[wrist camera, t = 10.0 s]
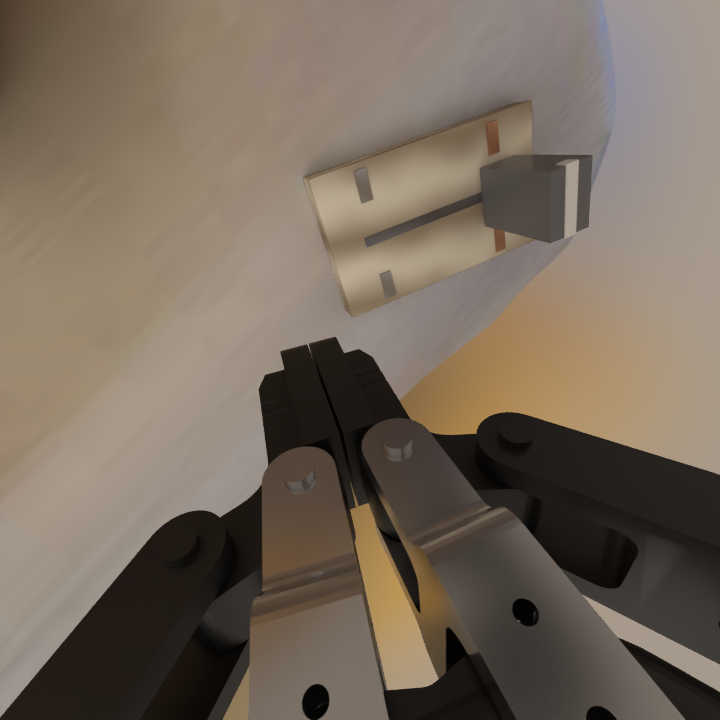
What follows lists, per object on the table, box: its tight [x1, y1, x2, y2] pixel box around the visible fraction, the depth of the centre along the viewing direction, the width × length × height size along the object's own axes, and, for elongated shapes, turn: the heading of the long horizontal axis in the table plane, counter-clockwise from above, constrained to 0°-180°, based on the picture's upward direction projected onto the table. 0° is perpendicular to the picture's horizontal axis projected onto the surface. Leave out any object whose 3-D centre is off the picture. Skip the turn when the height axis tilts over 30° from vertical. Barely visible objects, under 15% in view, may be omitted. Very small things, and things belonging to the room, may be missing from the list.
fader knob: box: [480, 155, 592, 243], centre depth 31 cm, size 5×4×8 cm
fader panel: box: [303, 100, 534, 317], centre depth 34 cm, size 12×20×2 cm, turn 106°
